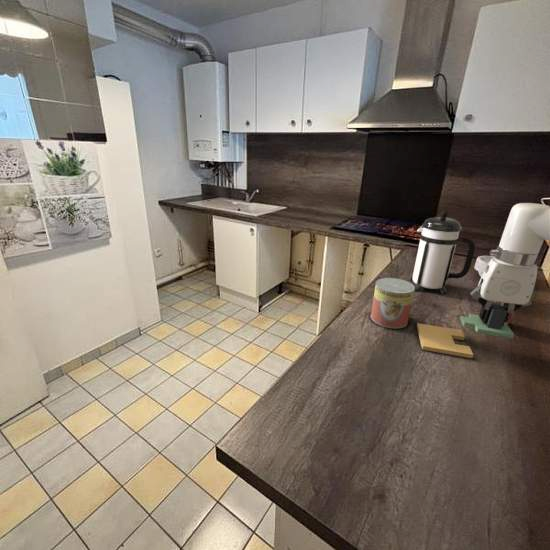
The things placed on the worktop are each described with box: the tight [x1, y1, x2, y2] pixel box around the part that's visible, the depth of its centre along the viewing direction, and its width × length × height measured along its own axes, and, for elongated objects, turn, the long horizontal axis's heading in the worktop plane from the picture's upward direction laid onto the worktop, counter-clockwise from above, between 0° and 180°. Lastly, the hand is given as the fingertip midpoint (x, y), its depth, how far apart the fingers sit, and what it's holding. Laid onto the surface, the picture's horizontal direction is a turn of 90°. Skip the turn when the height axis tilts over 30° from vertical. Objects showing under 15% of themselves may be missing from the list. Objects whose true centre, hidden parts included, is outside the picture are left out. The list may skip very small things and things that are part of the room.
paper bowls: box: [473, 255, 495, 278], centre depth 123 cm, size 15×15×8 cm
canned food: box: [370, 277, 416, 330], centre depth 91 cm, size 11×11×12 cm
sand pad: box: [416, 322, 474, 359], centre depth 82 cm, size 12×12×1 cm
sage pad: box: [459, 302, 515, 339], centre depth 76 cm, size 10×8×6 cm
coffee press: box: [410, 210, 476, 295], centre depth 110 cm, size 17×16×30 cm
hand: (491, 321), depth 77 cm, fingers closed on sage pad, 3 cm apart
